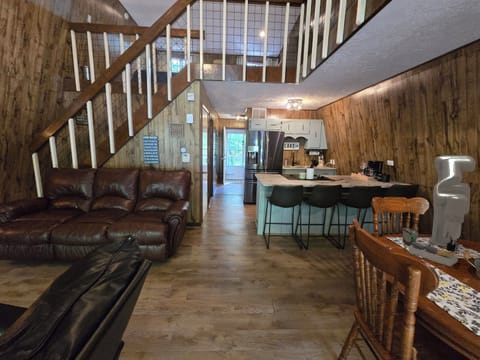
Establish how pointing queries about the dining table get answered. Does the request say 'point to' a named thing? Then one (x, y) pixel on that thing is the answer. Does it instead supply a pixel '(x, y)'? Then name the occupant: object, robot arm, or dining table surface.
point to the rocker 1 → (417, 245)
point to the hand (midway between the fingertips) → (450, 250)
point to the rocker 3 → (444, 253)
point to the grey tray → (434, 256)
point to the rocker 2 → (430, 249)
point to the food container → (409, 236)
